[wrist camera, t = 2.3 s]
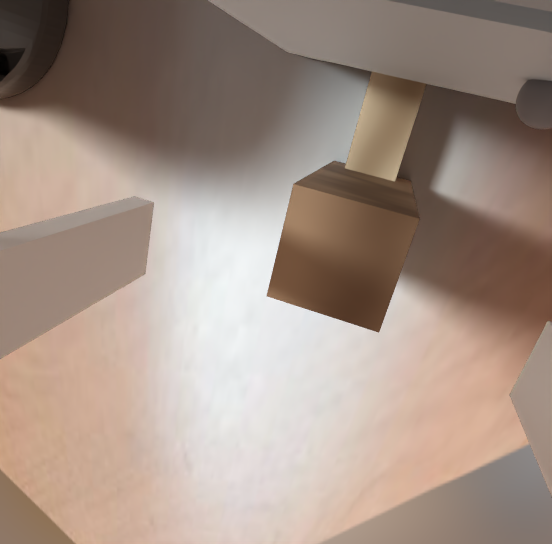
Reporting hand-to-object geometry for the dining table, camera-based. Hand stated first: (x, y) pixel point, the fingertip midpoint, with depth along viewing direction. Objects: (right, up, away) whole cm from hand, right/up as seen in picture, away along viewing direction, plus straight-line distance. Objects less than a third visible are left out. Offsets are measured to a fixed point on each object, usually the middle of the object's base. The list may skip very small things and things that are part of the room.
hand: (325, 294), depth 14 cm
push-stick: (+6, +12, +12) cm, 18 cm away
